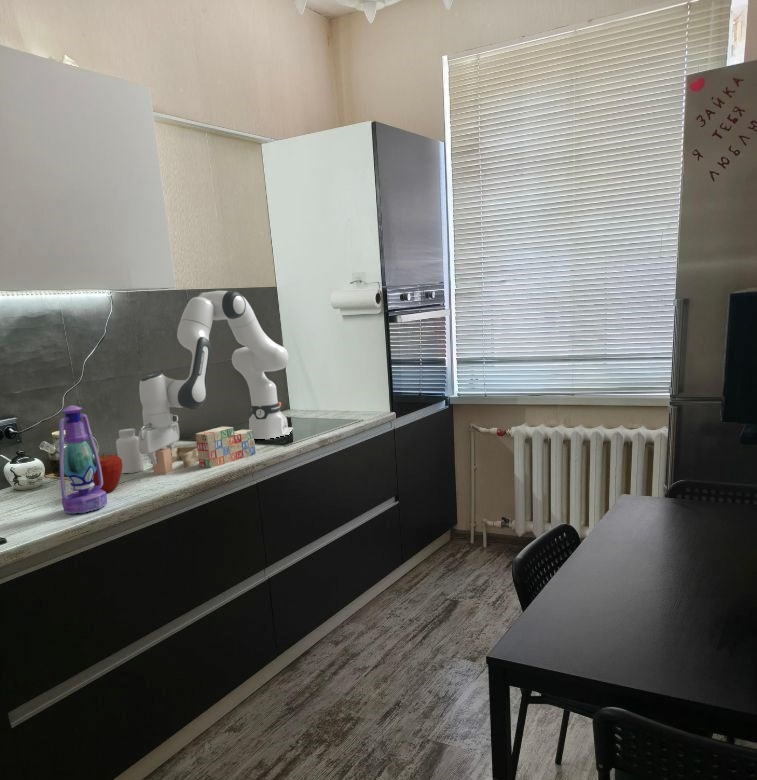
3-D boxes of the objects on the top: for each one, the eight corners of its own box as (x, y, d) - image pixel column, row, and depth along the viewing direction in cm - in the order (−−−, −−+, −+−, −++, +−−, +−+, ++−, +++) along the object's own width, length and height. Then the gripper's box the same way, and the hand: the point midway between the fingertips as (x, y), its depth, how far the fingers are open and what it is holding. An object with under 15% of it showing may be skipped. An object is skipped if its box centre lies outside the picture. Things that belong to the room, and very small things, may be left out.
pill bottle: (138, 467, 222) (133, 426, 220) (147, 470, 216) (142, 428, 214) (116, 472, 216) (110, 431, 214) (125, 475, 211) (119, 433, 209)
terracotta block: (161, 471, 213) (158, 448, 212) (172, 470, 212) (170, 448, 211) (154, 474, 209) (151, 451, 208) (166, 474, 208) (163, 451, 207)
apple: (99, 487, 197) (94, 450, 196) (131, 485, 197) (127, 448, 195) (81, 497, 186) (76, 459, 185) (116, 495, 186) (110, 456, 184)
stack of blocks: (244, 453, 233) (241, 421, 231) (256, 454, 229) (252, 422, 227) (199, 467, 215) (195, 433, 214) (210, 468, 212) (206, 433, 210)
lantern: (80, 518, 166) (65, 409, 162) (51, 515, 170) (35, 409, 167) (119, 502, 178) (105, 401, 174) (90, 500, 182) (76, 401, 179)
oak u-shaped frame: (178, 458, 231) (176, 447, 231) (205, 457, 229) (203, 446, 228) (158, 468, 217) (156, 456, 217) (186, 467, 215) (185, 455, 215)
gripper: (148, 426, 198) (153, 468, 199) (180, 415, 217) (185, 452, 219) (131, 427, 199) (136, 468, 201) (164, 415, 219) (169, 453, 221)
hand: (162, 460), depth 210 cm, fingers open, 8 cm apart
